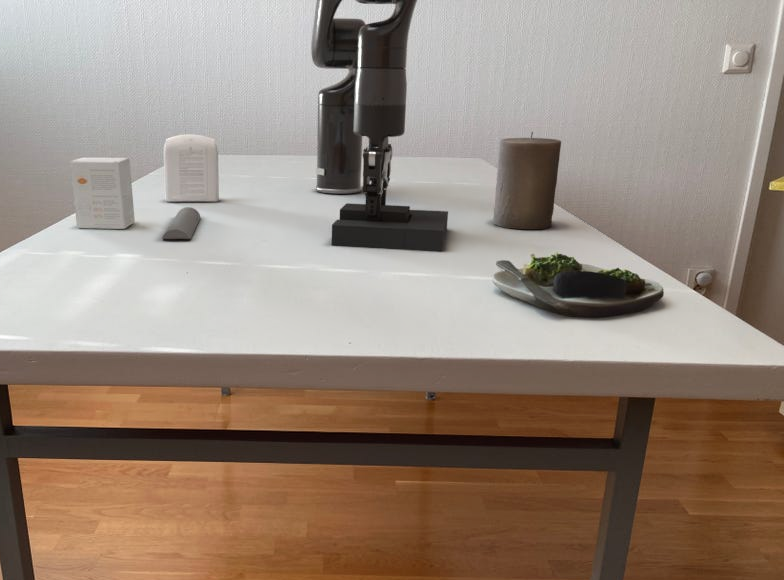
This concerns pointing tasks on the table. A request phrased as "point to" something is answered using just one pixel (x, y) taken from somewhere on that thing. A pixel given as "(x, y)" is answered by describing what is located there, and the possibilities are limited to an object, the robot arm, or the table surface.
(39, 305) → the table surface
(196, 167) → the white arched block
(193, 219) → the half round rod
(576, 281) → the salad plate
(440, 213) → the slotted rectangular block
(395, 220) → the pad piece
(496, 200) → the pillar candle
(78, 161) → the small box
